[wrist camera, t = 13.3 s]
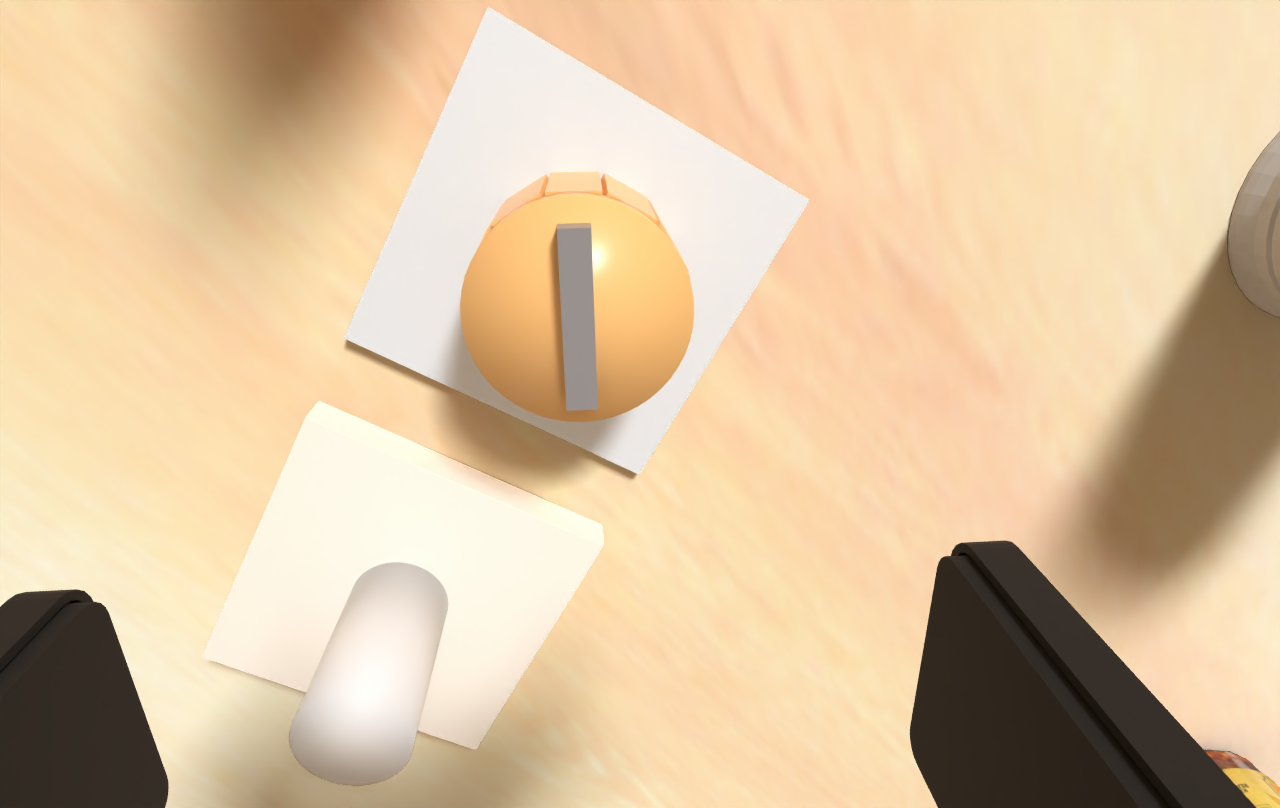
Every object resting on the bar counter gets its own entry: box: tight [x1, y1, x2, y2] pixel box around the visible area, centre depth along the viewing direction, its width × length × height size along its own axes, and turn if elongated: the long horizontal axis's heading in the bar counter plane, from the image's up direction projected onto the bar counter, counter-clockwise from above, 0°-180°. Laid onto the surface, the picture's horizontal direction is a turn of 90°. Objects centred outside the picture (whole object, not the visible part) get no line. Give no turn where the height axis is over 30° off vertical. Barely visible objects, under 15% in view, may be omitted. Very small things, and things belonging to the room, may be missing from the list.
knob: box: [460, 171, 694, 422], centre depth 24 cm, size 7×7×6 cm
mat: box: [344, 7, 809, 474], centre depth 27 cm, size 12×12×1 cm
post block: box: [202, 401, 604, 786], centre depth 28 cm, size 12×12×8 cm
